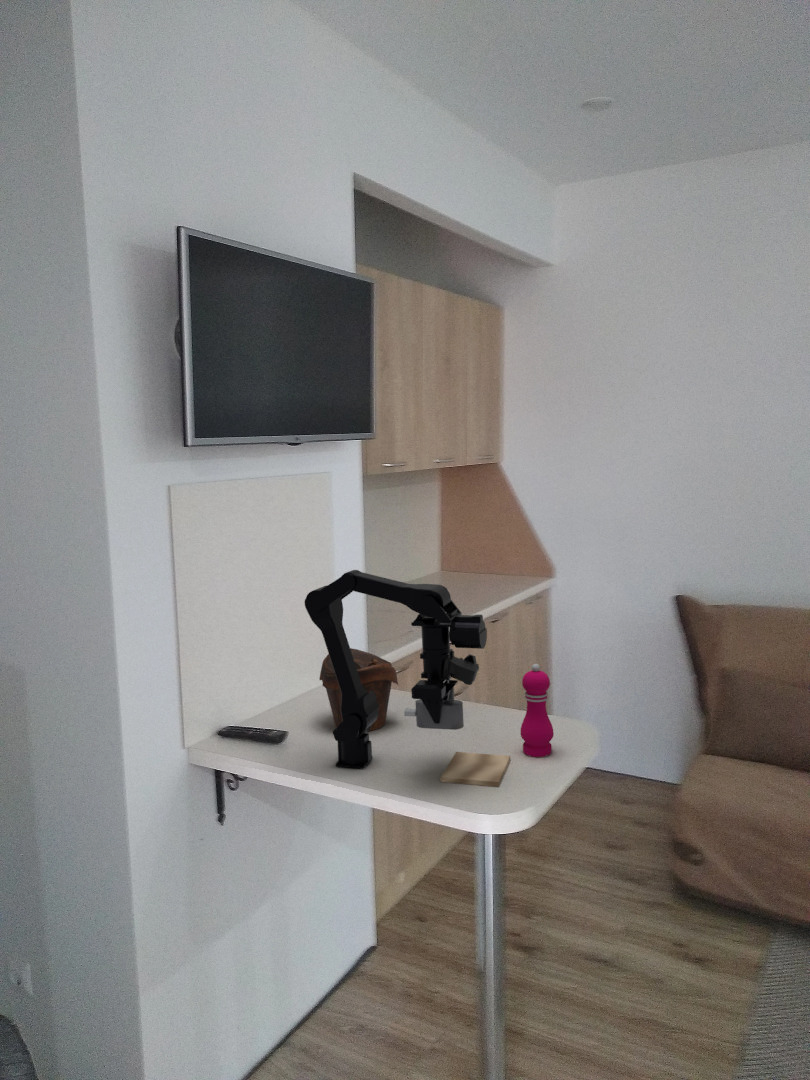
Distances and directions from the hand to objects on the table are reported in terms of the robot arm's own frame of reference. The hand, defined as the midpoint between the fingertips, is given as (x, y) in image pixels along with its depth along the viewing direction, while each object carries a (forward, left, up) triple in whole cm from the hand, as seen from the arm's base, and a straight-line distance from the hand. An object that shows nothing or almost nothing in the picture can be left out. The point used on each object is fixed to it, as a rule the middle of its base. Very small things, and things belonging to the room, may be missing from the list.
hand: (439, 719), depth 170 cm
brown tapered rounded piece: (-27, +25, -12) cm, 39 cm away
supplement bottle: (-8, +31, -12) cm, 34 cm away
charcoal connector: (-1, 0, -1) cm, 2 cm away
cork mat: (+7, +2, -11) cm, 14 cm away
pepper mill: (+18, +15, -12) cm, 26 cm away
